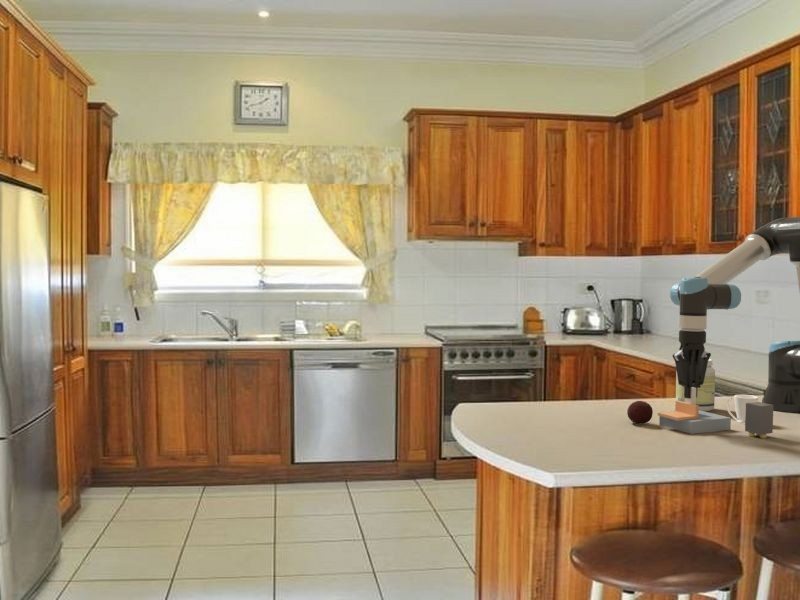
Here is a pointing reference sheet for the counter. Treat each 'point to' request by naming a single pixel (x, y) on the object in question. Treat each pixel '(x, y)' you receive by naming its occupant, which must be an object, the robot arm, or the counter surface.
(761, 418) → the plug
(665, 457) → the counter surface
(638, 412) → the dark brown ball
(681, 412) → the orange l-shaped bracket
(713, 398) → the supplement tub
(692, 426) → the socket block
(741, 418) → the cup
